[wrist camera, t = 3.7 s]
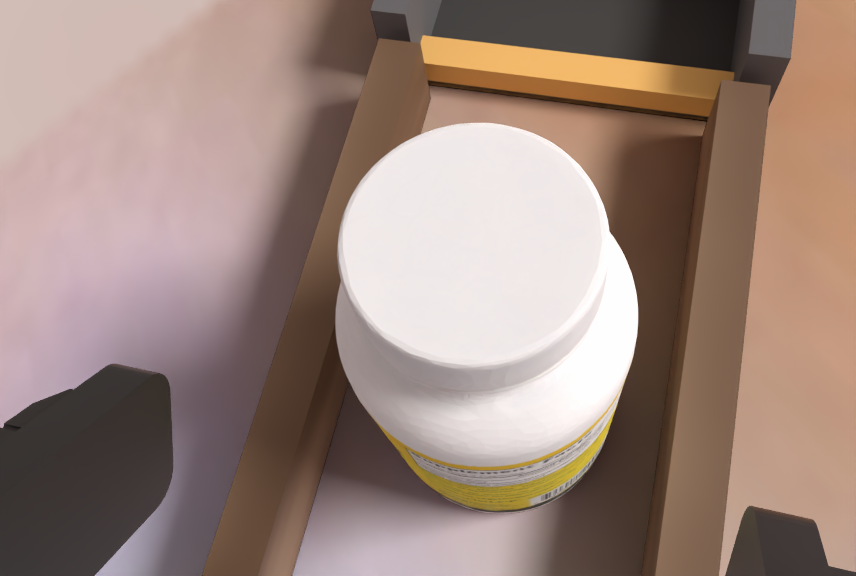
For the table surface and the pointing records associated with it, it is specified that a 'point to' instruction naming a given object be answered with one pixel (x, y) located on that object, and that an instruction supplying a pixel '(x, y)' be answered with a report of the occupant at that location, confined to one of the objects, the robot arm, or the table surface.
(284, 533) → the chute
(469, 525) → the table surface
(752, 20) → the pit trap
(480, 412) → the supplement bottle
